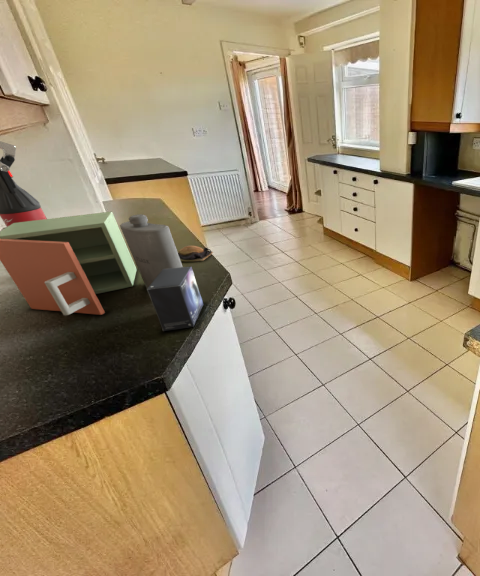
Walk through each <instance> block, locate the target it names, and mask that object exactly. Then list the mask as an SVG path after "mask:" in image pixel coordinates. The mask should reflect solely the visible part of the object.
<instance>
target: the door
mask: <svg viewBox="0 0 480 576" xmlns="http://www.w3.org/2000/svg"><path fill="white" fill-rule="evenodd" d="M0 262H1V264H2V265H3V267H4V269H5V270H6V272H7V273H8V275H9V277H10V278H11V280H12V281H13V283H14V284H15V286H16V287H17V288H18V290H19V292H20V294H21V295H22V297H23V298H24V300H25V301H26V303H27V305H28V306H29V307H30V309H31V310H43V311H53V312H61V313H62V315H63V316H70V315H71V314H73V313H74V314H75V313H77V314H88V315H100V316H101V315H102V316H103V315H104V314H105V313H106V312H105V310H104V308H103V305H102V304H101V302H100V300H99V298H98V296H97V294H95V292H94V290H93V288H92V286H91V285H90V283H89V281H88V279H87V277H86V275H85V273H84V271H83V269H82V267H81V265H80V263H79V261H78V260H77V258H76V256H75V254H74V252H73V250H72V248H71V246H70V244H69V242H56V241H35V240H15V239H0Z"/></svg>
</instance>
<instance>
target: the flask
mask: <svg viewBox="0 0 480 576" xmlns="http://www.w3.org/2000/svg"><path fill="white" fill-rule="evenodd" d="M128 220H129V221H125V222H122V223H121V224H119V228H120V231H121V233H122V235H123V238H124V240H125V242H126V245H127V247H128V250H129V252H130V254H131V257H132V259H133V261H134V264H135V266H136V268H137V271H138V273H139V274H140V277H141V280H142V282H143V284H144V286H145V288H146V289H147V288H148V287H149V286H150V284H151V283H152V282H153V281H154V279H155V278H156V277H157V276H158V275H159V273H160V272H161V271H162V269H169V268H181V267H184V266H183V264H182V261H180V258H179V255H178V253H179V252H178V249H177V247H176V244H175V241H174V238H173V236H172V233H171V229H170V226H168V225H165V224H158V223H151V222H149V219H148V217H147V215H145V214H144V213H143V214H142V213H141V214H138V213H137V214H132V215H130V216H129V218H128Z"/></svg>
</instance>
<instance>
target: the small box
mask: <svg viewBox="0 0 480 576" xmlns="http://www.w3.org/2000/svg"><path fill="white" fill-rule="evenodd" d="M146 291H147V295H148V297H149V298H150V301H151V304H152V306H153V309H154V311H155V313H156V316H157V318H158V321H159V324H160V326H161V329H162V332H168V331H174V330H181V329H189V328H193V327H195V325H196V323H197V321H198V318H199V315H200V314H201V311H202V308H203V306H204V302H203V298H202V296H201V291H200V289H199V286H198V283H197V280H196V277H195V273H194V270H193V267H192V266H183V267H181V268H169V269H162V271H161V272H160V273H159V275H158V276H157V277H156V278H155V279H154V281H153V282H152V283H151V284H150V286H149V287H148V288H146Z"/></svg>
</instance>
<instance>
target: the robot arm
mask: <svg viewBox="0 0 480 576" xmlns="http://www.w3.org/2000/svg"><path fill="white" fill-rule="evenodd" d="M0 150H2V156H1V158H0V185H1V186H2V188H3V190H4V192H6V193H11V194H14V193H15V191H14V189H13V188H16V185H15V184H14V182H13V180H14V179H13V178H11V176H10V174H9V173H8V171H10V168H11V167H12V165H13V164H14V163H15V161H16V159H15V157H16V150H17V147H16V146H15V145H14V144H11V143H8V142H4V141H1V140H0ZM12 179H13V180H12Z"/></svg>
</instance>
